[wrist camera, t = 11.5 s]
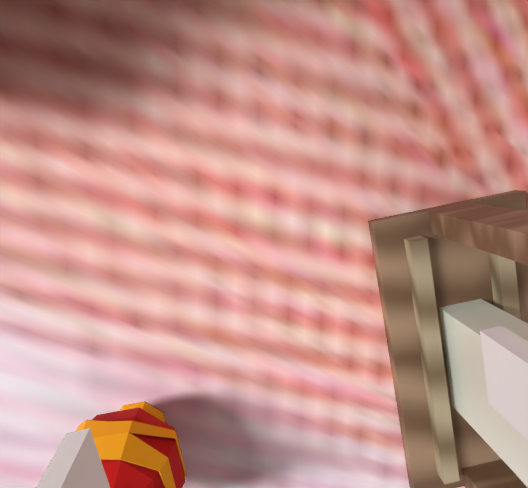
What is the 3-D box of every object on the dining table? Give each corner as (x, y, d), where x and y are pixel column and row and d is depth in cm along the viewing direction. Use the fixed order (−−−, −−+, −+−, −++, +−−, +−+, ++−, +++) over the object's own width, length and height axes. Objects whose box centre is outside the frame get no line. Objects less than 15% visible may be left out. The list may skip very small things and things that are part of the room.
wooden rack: (368, 220, 41) (449, 252, 26) (515, 190, 41) (680, 203, 26) (409, 486, 46) (498, 645, 31) (540, 456, 46) (691, 597, 31)
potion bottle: (203, 386, 42) (188, 503, 28) (181, 483, 44) (156, 642, 29) (91, 366, 41) (14, 477, 27) (73, 465, 43) (-10, 622, 28)
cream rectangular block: (439, 307, 41) (522, 364, 29) (483, 297, 41) (584, 350, 30) (451, 405, 43) (535, 495, 31) (494, 395, 43) (594, 481, 31)
